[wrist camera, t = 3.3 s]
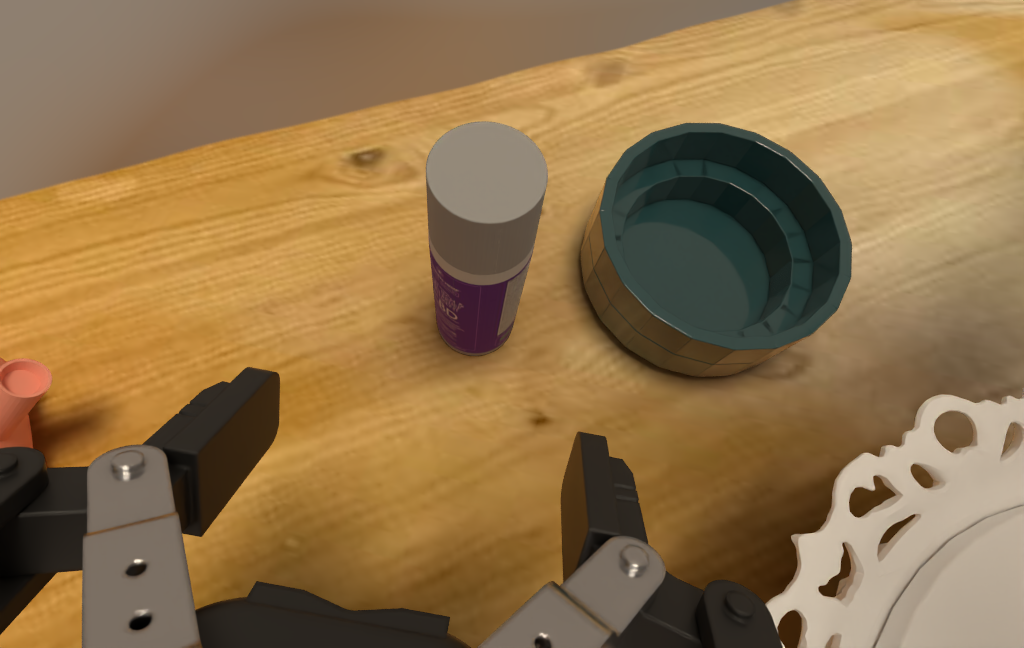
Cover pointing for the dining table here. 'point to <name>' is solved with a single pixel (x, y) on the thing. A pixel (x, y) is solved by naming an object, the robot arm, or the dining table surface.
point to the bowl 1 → (714, 250)
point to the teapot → (20, 399)
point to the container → (482, 230)
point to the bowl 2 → (922, 543)
